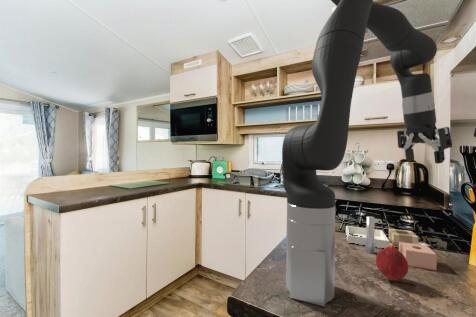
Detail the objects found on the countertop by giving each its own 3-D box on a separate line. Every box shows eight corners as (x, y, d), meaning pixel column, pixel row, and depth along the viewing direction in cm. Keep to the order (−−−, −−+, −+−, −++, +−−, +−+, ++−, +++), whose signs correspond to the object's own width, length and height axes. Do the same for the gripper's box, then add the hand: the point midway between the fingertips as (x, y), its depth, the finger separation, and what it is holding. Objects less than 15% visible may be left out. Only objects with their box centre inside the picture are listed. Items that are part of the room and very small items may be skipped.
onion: (414, 290, 44) (414, 250, 44) (382, 286, 45) (383, 247, 45) (399, 275, 49) (399, 240, 49) (371, 272, 51) (371, 238, 51)
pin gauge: (374, 254, 60) (375, 218, 60) (366, 252, 61) (366, 217, 61) (373, 251, 62) (373, 216, 62) (365, 250, 63) (365, 215, 63)
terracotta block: (436, 271, 52) (436, 254, 52) (405, 266, 54) (405, 249, 54) (426, 260, 57) (426, 245, 57) (398, 256, 60) (398, 241, 60)
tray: (389, 249, 64) (389, 241, 64) (347, 243, 68) (347, 235, 68) (381, 237, 74) (381, 230, 74) (345, 232, 78) (345, 225, 78)
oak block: (418, 251, 63) (418, 237, 63) (393, 247, 65) (393, 234, 65) (411, 243, 68) (411, 231, 68) (388, 240, 71) (388, 228, 71)
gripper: (387, 115, 72) (393, 162, 74) (434, 109, 58) (440, 167, 60) (405, 111, 74) (411, 157, 75) (455, 103, 60) (460, 160, 62)
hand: (424, 161), depth 68 cm, fingers open, 8 cm apart
